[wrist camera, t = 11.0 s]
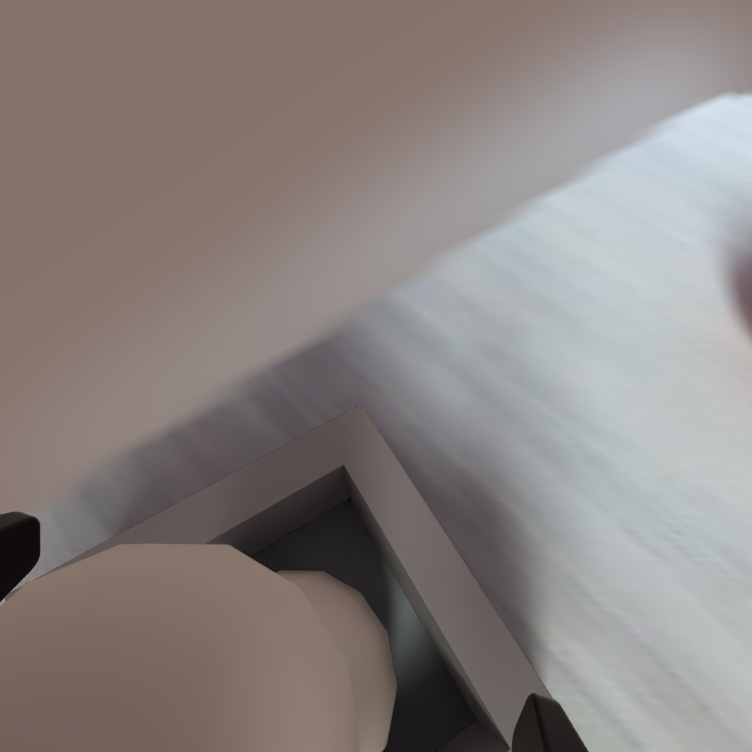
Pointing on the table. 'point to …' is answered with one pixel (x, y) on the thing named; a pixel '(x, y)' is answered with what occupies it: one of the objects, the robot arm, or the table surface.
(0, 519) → the robot arm
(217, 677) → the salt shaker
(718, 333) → the table surface
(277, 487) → the well block
